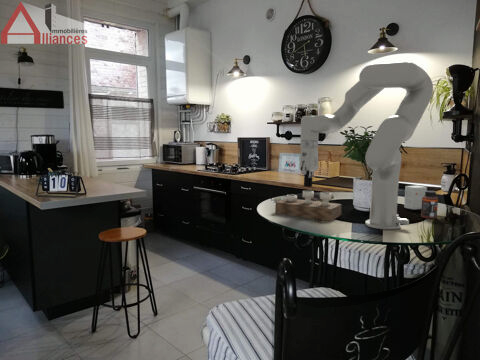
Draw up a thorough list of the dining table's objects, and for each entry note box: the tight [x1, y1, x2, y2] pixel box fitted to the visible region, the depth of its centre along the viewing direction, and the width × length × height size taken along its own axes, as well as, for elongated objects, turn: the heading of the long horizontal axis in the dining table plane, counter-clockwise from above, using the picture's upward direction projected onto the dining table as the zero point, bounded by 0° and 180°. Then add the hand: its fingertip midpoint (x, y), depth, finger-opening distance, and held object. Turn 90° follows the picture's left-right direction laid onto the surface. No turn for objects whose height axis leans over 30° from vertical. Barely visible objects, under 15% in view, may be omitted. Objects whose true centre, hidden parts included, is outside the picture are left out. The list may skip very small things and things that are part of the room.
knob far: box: [285, 194, 298, 202], centre depth 159 cm, size 5×5×7 cm
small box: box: [403, 185, 428, 210], centre depth 167 cm, size 8×6×10 cm
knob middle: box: [302, 190, 315, 204], centre depth 154 cm, size 5×5×7 cm
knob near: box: [319, 191, 332, 206], centre depth 149 cm, size 5×5×7 cm
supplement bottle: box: [420, 190, 439, 220], centre depth 147 cm, size 6×6×11 cm
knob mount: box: [274, 198, 342, 222], centre depth 155 cm, size 26×12×5 cm, turn 55°
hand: (308, 186), depth 153 cm, fingers closed
